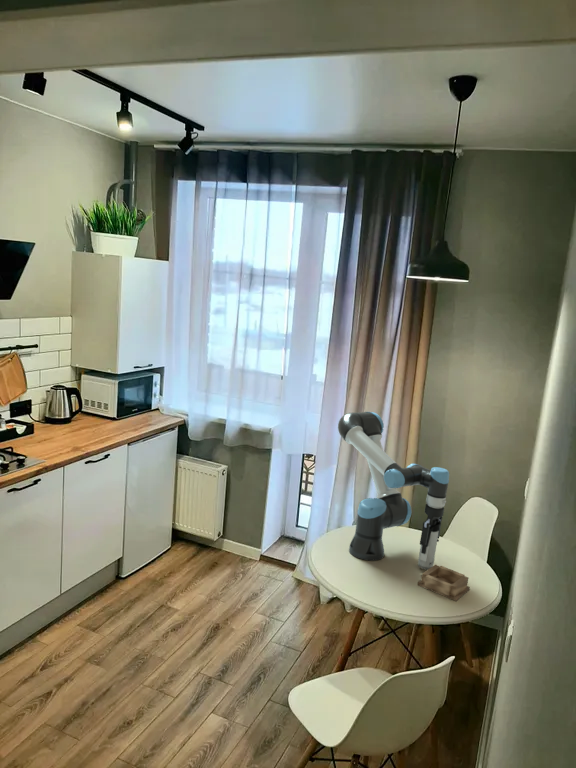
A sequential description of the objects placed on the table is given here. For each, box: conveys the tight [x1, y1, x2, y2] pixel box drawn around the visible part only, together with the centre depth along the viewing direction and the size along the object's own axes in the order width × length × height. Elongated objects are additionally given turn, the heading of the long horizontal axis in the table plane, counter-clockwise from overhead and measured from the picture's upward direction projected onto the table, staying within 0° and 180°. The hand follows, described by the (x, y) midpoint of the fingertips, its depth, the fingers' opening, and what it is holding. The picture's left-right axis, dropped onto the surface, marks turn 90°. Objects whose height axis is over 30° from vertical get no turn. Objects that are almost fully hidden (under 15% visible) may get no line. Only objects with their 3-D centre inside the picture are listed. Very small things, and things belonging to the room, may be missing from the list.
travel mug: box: [417, 520, 442, 571], centre depth 238 cm, size 6×7×20 cm
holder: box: [417, 564, 471, 602], centre depth 224 cm, size 16×14×5 cm
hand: (426, 557), depth 239 cm, fingers closed on travel mug, 6 cm apart
